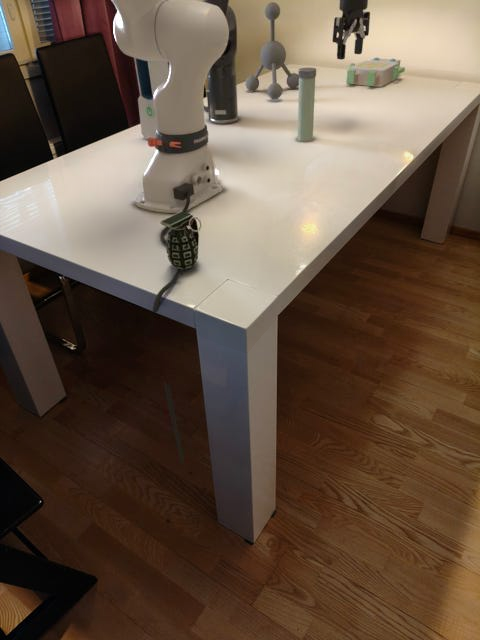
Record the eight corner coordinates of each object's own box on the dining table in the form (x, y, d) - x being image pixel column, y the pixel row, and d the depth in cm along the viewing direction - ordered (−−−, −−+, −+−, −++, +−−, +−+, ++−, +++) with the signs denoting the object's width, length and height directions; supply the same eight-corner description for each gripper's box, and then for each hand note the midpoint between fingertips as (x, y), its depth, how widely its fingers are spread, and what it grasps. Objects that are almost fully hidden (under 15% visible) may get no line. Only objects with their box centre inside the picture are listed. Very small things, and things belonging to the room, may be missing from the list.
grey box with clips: (365, 55, 208) (411, 58, 198) (363, 72, 212) (408, 76, 202) (337, 67, 192) (386, 71, 182) (336, 85, 196) (383, 90, 186)
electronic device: (141, 137, 154) (123, 28, 136) (159, 131, 158) (144, 24, 140) (166, 145, 147) (151, 30, 129) (185, 138, 151) (172, 26, 133)
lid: (318, 76, 134) (318, 70, 133) (301, 78, 133) (301, 71, 132) (312, 73, 137) (312, 66, 136) (296, 75, 137) (296, 68, 136)
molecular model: (318, 92, 188) (323, -1, 170) (273, 103, 179) (272, 6, 161) (281, 82, 204) (281, -3, 186) (237, 91, 195) (233, 3, 176)
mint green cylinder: (314, 140, 144) (317, 71, 133) (300, 142, 144) (302, 73, 132) (309, 136, 148) (312, 68, 137) (295, 137, 147) (297, 70, 136)
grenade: (182, 278, 88) (175, 228, 82) (162, 268, 91) (153, 219, 85) (208, 263, 92) (203, 214, 85) (187, 253, 95) (181, 205, 89)
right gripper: (358, -14, 137) (352, 51, 147) (327, -9, 129) (324, 59, 139) (381, -14, 133) (374, 53, 142) (351, -9, 125) (345, 62, 135)
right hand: (349, 56), depth 141 cm, fingers open, 8 cm apart
